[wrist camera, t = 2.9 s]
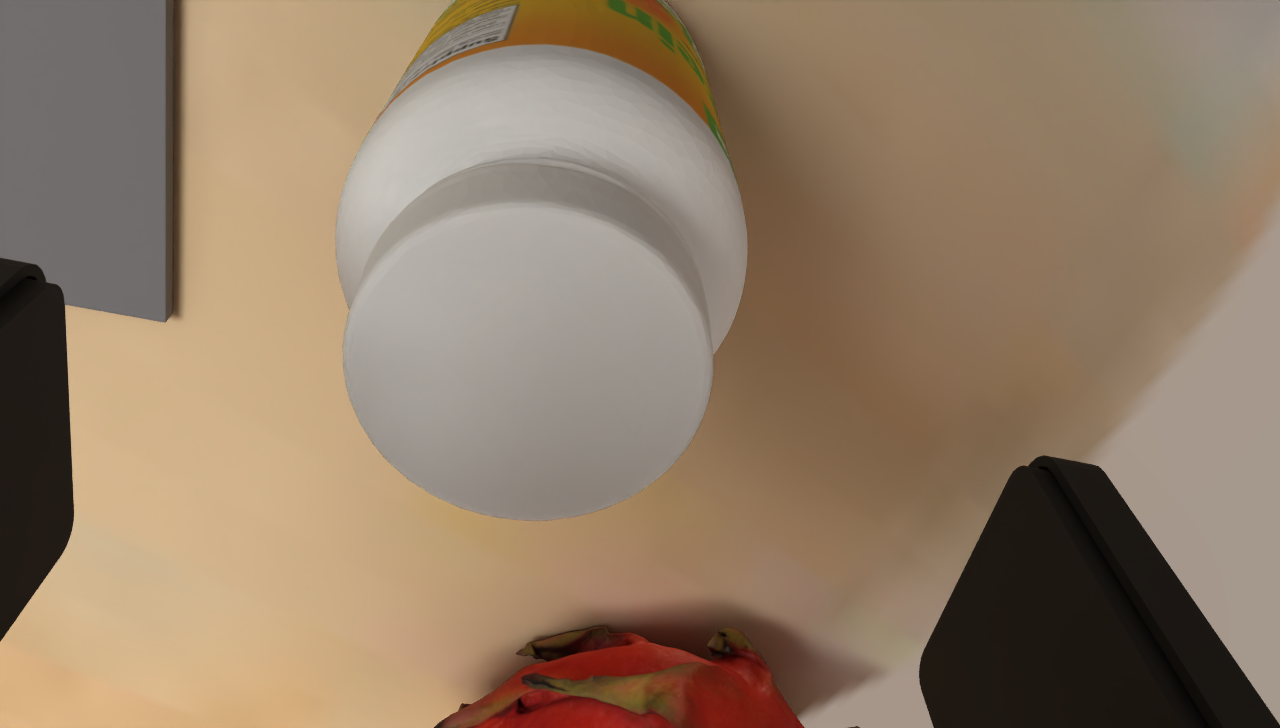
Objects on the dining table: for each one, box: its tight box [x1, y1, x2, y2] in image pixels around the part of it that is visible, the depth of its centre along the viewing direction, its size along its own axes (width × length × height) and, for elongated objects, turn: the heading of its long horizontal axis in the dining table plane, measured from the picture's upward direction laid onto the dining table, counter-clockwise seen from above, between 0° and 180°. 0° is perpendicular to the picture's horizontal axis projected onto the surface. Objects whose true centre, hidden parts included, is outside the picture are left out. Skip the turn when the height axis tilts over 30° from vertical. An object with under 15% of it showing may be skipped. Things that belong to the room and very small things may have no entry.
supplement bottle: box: [336, 0, 748, 521], centre depth 15 cm, size 5×5×10 cm
